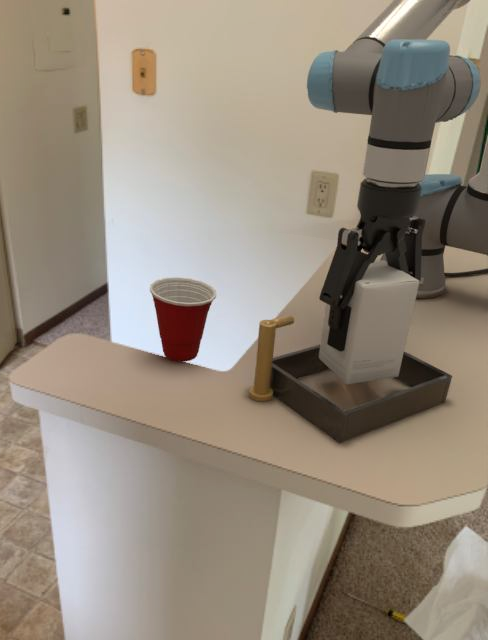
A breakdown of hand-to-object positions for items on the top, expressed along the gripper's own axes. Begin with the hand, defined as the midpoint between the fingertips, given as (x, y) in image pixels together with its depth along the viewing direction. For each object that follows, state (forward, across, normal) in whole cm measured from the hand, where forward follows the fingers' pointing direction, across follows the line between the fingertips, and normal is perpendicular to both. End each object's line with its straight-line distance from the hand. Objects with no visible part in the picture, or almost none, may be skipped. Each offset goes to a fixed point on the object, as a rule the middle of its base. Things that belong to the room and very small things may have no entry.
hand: (362, 339), depth 89 cm
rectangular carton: (+5, 0, 0) cm, 5 cm away
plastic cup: (+9, +16, -24) cm, 30 cm away
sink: (+9, +2, 0) cm, 9 cm away
